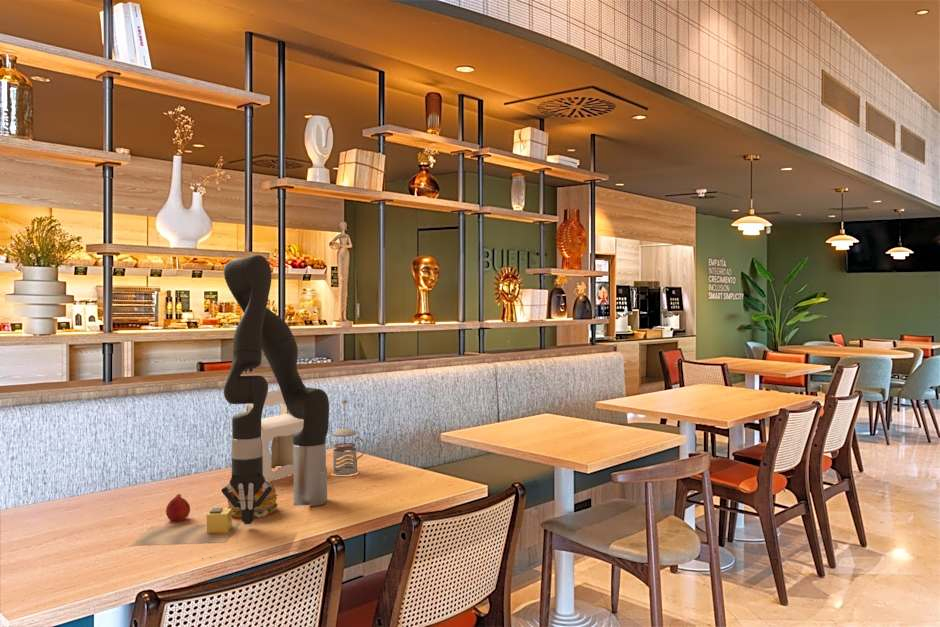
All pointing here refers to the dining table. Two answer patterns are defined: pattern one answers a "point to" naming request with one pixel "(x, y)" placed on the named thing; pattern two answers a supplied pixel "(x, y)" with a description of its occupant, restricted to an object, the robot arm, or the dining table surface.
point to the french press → (342, 447)
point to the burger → (261, 511)
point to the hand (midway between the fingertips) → (248, 523)
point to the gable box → (278, 438)
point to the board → (182, 535)
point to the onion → (178, 509)
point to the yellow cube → (219, 520)
